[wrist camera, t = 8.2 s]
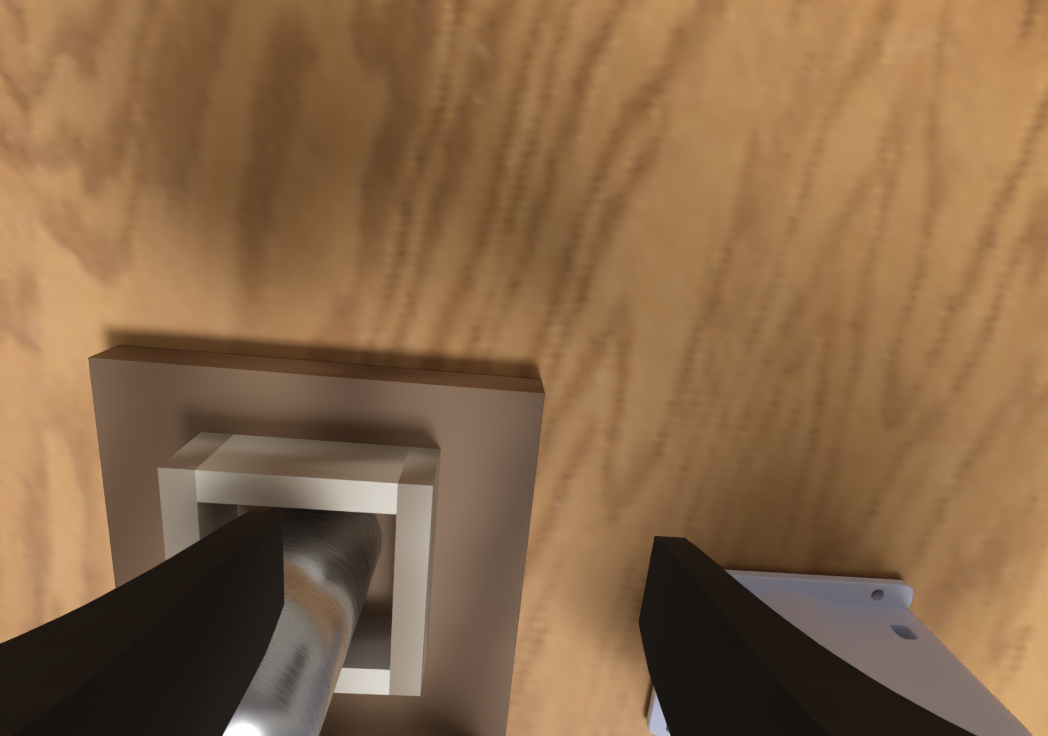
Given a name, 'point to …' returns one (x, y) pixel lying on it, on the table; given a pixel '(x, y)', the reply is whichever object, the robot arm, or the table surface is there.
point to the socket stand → (344, 505)
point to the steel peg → (311, 621)
